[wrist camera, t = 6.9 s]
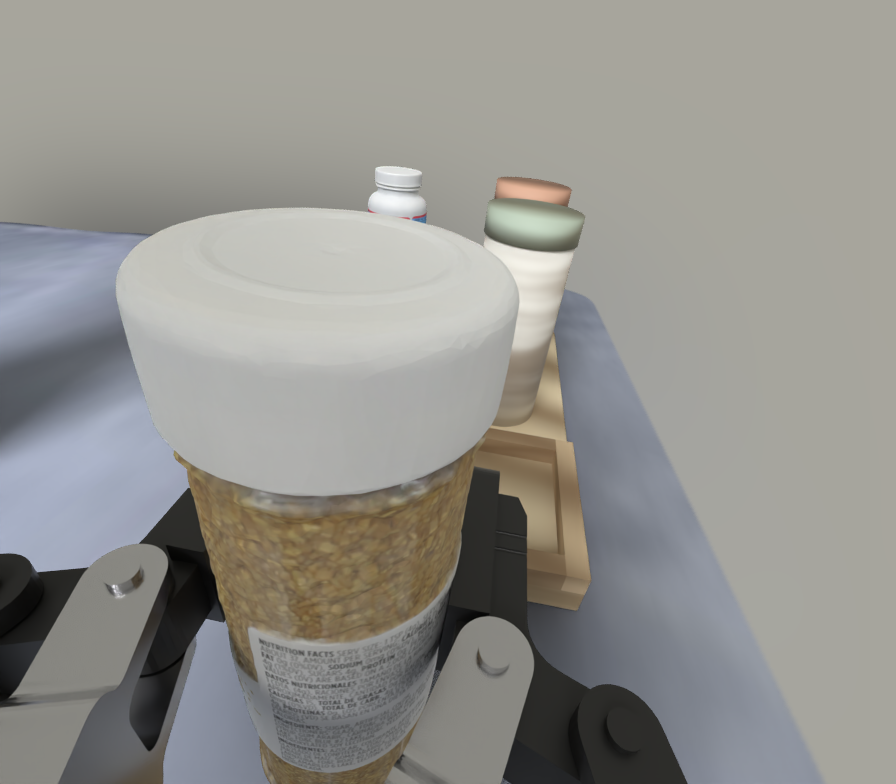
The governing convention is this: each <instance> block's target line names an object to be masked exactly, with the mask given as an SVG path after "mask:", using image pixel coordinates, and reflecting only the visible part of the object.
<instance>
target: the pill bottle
mask: <svg viewBox="0 0 896 784" xmlns="http://www.w3.org/2000/svg"><path fill="white" fill-rule="evenodd" d="M375 181H376V185H377V186H378V191H376V192H375V193H373V194H372V195H371V196H370V198H369V201H368V212H369V213H377V214H383V215H389V216H394V217H399V218H404V219H409V220H413V221H417V222H421V223H425V224H426V213H427V206H426V202H425V200H424V199H423V198H422V197H421V196H420V195H418V190H419V189H420V188H421V187H420V186H421V185H422V173H421V172H420V171H418V170H415V169H410V168H404V167H394V166H382V167H377V168H376V169H375Z"/></svg>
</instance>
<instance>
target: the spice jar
mask: <svg viewBox="0 0 896 784" xmlns="http://www.w3.org/2000/svg"><path fill="white" fill-rule="evenodd" d="M116 298H117V303H118V307H119V311H120V315H121V319H122V323H123V326H124V330H125V333H126V337H127V341H128V344H129V348H130V351H131V355H132V358H133V362H134V365H135V368H136V371H137V374H138V378H139V381H140V384H141V387H142V390H143V393H144V396H145V399H146V402H147V405H148V409H149V412H150V415H151V418H152V421H153V424H154V426H155V427H156V429H157V431H158V432H159V434H160V435H161V437H162V438H163V439H164V440H165V441H166V442H167V443H168V444H169V445H170V446H171V447H172V448H173V449H174V457H175V459H176V460H177V461H178V462H180V463H181V464H182V465H183V466H184V467H185V468H186V469H187V473H188V482H189V485H190V489H191V492H192V495H193V497H194V501H195V505H196V509H197V514H198V518H199V522H200V528H201V532H202V536H203V538H204V541H205V545H206V548H207V551H208V554H209V557H210V565H211V569H212V572H213V574H214V575H215V579H216V585H217V591H218V597H219V601H220V603H221V605H222V607H223V610H224V613H225V619H226V623H227V626H228V629H229V641H230V647H231V652H232V657H233V660H234V664H235V667H236V671H237V674H238V677H239V681H240V685H241V688H242V691H243V694H244V698H245V701H246V705H247V708H248V711H249V715H250V718H251V720H252V722H253V725H254V727H255V729H256V731H257V733H258V734H259V738H260V753H261V761H262V766H263V769H264V772H265V775H266V777H267V779H268V781H269V782H270V784H384V783H385V781H386V779H387V777H388V775H389V773H390V771H391V769H392V768H393V766H394V764H395V763H396V761H397V760H398V759H399V758H400V756H401V755H402V753H403V752H404V750H405V748H406V746H407V744H408V742H409V740H410V737H411V735H412V733H413V731H414V729H415V727H416V725H417V722H418V720H419V718H420V716H421V714H422V712H423V709H424V707H425V704H426V701H427V699H428V695H429V691H430V688H431V684H432V680H433V675H434V671H435V666H436V661H437V655H438V649H439V643H440V638H441V634H442V629H443V624H444V619H445V614H446V609H447V605H448V600H449V595H450V590H451V585H452V580H453V578H454V576H455V573H456V569H457V565H458V560H459V555H460V549H461V529H462V525H463V519H464V513H465V508H466V504H467V497H468V493H469V489H470V484H471V479H472V473H473V469H474V464H475V460H476V455H477V450H478V449H479V448H480V447H481V445H482V444H483V443H484V441H485V437H486V436H485V435H486V432H487V430H488V429H489V428H490V426H491V425H492V423H493V421H494V419H495V417H496V415H497V411H498V408H499V405H500V401H501V397H502V392H503V388H504V384H505V379H506V375H507V371H508V366H509V360H510V355H511V350H512V344H513V339H514V333H515V327H516V321H517V315H518V309H519V303H520V301H519V291H518V287H517V284H516V282H515V279H514V277H513V275H512V274H511V272H510V271H509V269H508V268H507V266H506V265H505V264H504V263H503V262H502V261H501V260H500V259H499V258H498V257H497V256H495V255H494V254H493V253H491V252H490V251H489V250H487V249H486V248H484V247H482V246H481V245H479V244H477V243H475V242H473V241H471V240H469V239H467V238H465V237H463V236H461V235H458V234H456V233H453V232H451V231H448V230H445V229H441V228H438V227H435V226H432V225H428V224H425V223H421V222H417V221H413V220H409V219H404V218H399V217H394V216H389V215H383V214H377V213H369V212H361V211H351V210H340V209H339V210H338V209H323V208H270V209H257V210H244V211H238V212H231V213H224V214H217V215H211V216H207V217H203V218H199V219H195V220H191V221H187V222H183V223H180V224H177V225H174V226H171V227H169V228H166V229H164V230H161V231H159V232H157V233H156V234H154V235H152V236H150V237H149V238H147V239H145V240H143V241H141V242H140V243H139V244H138V245H137V246H136V247H134V248H133V250H132V251H131V252H130V253H129V254H128V256H127V257H126V258H125V259H124V261H123V263H122V264H121V266H120V268H119V270H118V274H117V278H116Z"/></svg>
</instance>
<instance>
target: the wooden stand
mask: <svg viewBox="0 0 896 784" xmlns="http://www.w3.org/2000/svg"><path fill="white" fill-rule="evenodd" d="M570 194H571V189H570V188H569V187H567V186H564V185H561V184H557V183H554V182H549V181H544V180H538V179H531V178H522V177H501V178H498V179H497V186H496V192H495V198H494V199H493V200H490V201H489V202H488V208H487V215H486V222H485V228H484V232H485V234H486V235H485V241H484V248H486V249H487V250H489V251H490V252H491V253H493V254H494V255H495V256H497V257H498V258H499V259H500V260H501V261H502V262H503V263H504V264H505V265H506V266H507V268H508V269H509V271H510V272H511V274H512V275H513V277H514V279H515V282H516V284H517V287H518V291H519V301H520V303H519V309H518V315H517V321H516V327H515V333H514V339H513V344H512V350H511V355H510V360H509V366H508V371H507V375H506V379H505V384H504V388H503V392H502V397H501V401H500V405H499V408H498V411H497V415H496V417H495V419H494V421H493V423H492V425H491V426H490V428H489V429H488V430H487V432H486V435H485V436H486V437H485V441H484V443H483V444H482V445H481V447H480V448H479V449H478V450H477V455H476V460H475V464H474V466H476V467H481V468H486V469H492V470H497V471H500V482H499V494H504V495H509V496H514V497H519V499H520V502H521V504H522V506H523V508H524V510H525V512H526V514H527V601H530V602H535V603H540V604H545V605H550V606H555V607H560V608H565V609H570V610H575V611H577V610H578V608H579V606H580V603H581V601H582V599H583V597H584V595H585V593H586V591H587V589H588V586H589V584H590V582H591V575H590V568H589V560H588V553H587V545H586V538H585V530H584V523H583V515H582V508H581V500H580V493H579V485H578V478H577V470H576V463H575V455H574V448H573V442H567V439H566V430H565V422H564V413H563V404H562V396H561V387H560V378H559V370H558V361H557V352H556V344H555V335H554V332H553V331H554V327H555V323H556V319H557V315H558V312H559V308H560V304H561V300H562V296H563V292H564V289H565V284H566V281H567V277H568V273H569V269H570V265H571V262H572V257H573V254H574V249H575V248H576V247H577V246H578V242H579V239H580V235H581V231H582V227H583V224H584V220H585V216H584V215H583V214H582V213H580V212H579V211H577V210H574V209H571V208H569V207H568V203H569V199H570Z"/></svg>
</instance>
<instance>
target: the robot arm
mask: <svg viewBox="0 0 896 784" xmlns="http://www.w3.org/2000/svg"><path fill="white" fill-rule="evenodd" d="M499 482H500V471H497V470H492V469H486V468H481V467H476V466H474V469H473V473H472V479H471V484H470V489H469V493H468V497H467V504H466V508H465V513H464V519H463V525H462V529H461V549H460V555H459V560H458V565H457V569H456V573H455V576H454V578H453V580H452V585H451V590H450V595H449V600H448V605H447V609H446V614H445V619H444V624H443V629H442V634H441V638H440V643H439V649H438V655H437V661H436V667H435V670H439V671H441V673H440V675H439V677H438V679H437V681H436V684H435V686H434V688H433V690H432V692H431V694H430V697H429V699H428V701H427V703H426V705H425V707H424V709H423V712H422V714H421V716H420V718H419V720H418V722H417V725H416V727H415V729H414V731H413V733H412V735H411V737H410V740H409V742H408V744H407V746H406V748H405V750H404V752H403V753H402V755H401V756H400V758H399V759H398V760H397V761H396V763H395V764H394V766H393V768H392V769H391V771H390V773H389V775H388V777H387V779H386V781H385V783H384V784H501V781H502V778H504V779H505V780H507V781H508V782H510V783H511V784H687V781H686V779H685V777H684V775H683V773H682V770H681V768H680V766H679V764H678V761H677V759H676V757H675V755H674V753H673V750H672V748H671V746H670V744H669V742H668V739H667V737H666V735H665V733H664V731H663V728H662V726H661V724H660V723H659V721H658V719H657V717H656V716H655V714H654V713H653V711H652V710H651V709H650V708H649V707H648V705H647V704H646V703H645V702H644V701H643V700H641V699H640V698H639V697H638V696H637V695H635V694H634V693H632V692H631V691H629V690H627V689H625V688H622V687H620V686H616V685H611V684H603V685H599V686H596V687H594V688H592V689H589V688H587V687H585V686H583V685H582V684H580V683H578V682H577V681H575V680H573V679H572V678H570V677H568V676H566V675H565V674H563V673H561V672H560V671H558V670H557V669H555V668H554V667H552V666H551V665H550V664H549V663H548V662H547V661H546V660H545V659H544V658H543V657H542V656H541V655H540V653H539V652H538V650H537V649H536V647H535V646H534V644H533V642H532V640H531V637H530V634H529V630H528V626H527V514H526V512H525V510H524V508H523V506H522V504H521V502H520V499H519V497H514V496H509V495H504V494H499ZM205 619H210V620H215V621H219V622H224V621H225V620H226V619H225V613H224V610H223V607H222V605H221V603H220V601H219V597H218V591H217V585H216V579H215V575H214V574H213V572H212V569H211V565H210V557H209V554H208V551H207V548H206V545H205V541H204V538H203V536H202V532H201V528H200V522H199V518H198V514H197V509H196V505H195V501H194V497H193V495H192V492H191V489H190V488H188V489H187V490H186V491H185V492H184V493H183V494H182V496H181V497H180V498H179V499H178V500H177V501H176V502H175V504H174V505H173V506H172V507H171V508H170V509H169V511H168V512H167V513H166V514H165V515H164V516H163V517H162V519H161V520H160V521H159V522H158V523H157V524H156V525H155V527H154V528H153V529H152V530H151V531H150V532H149V533H148V535H147V536H146V537H145V538H144V539H143V540H142V541H141V542H140V543H139V544H133V545H128V546H124V547H121V548H118V549H116V550H113V551H111V552H109V553H107V554H106V555H104V556H102V557H101V558H99V559H98V560H97V561H95V562H94V563H93V564H92V565H91V566H90V567H88V568H80V569H69V570H58V571H47V572H36V570H35V569H34V567H33V566H32V564H31V563H30V561H29V560H28V559H27V558H25V557H23V556H21V555H17V554H9V553H8V554H0V784H163V761H164V755H165V750H166V746H167V743H168V739H169V736H170V733H171V729H172V726H173V723H174V719H175V716H176V713H177V709H178V706H179V703H180V699H181V696H182V693H183V689H184V686H185V683H186V679H187V676H188V673H189V669H190V666H191V663H192V659H193V656H194V653H195V649H196V640H197V639H196V634H197V632H198V630H199V629H200V627H201V626H202V624H203V622H204V621H205Z"/></svg>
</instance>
